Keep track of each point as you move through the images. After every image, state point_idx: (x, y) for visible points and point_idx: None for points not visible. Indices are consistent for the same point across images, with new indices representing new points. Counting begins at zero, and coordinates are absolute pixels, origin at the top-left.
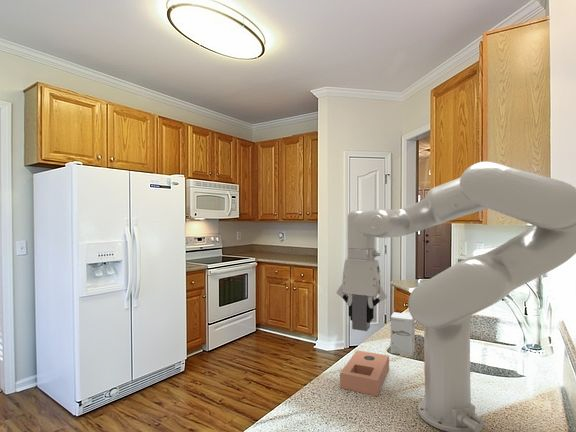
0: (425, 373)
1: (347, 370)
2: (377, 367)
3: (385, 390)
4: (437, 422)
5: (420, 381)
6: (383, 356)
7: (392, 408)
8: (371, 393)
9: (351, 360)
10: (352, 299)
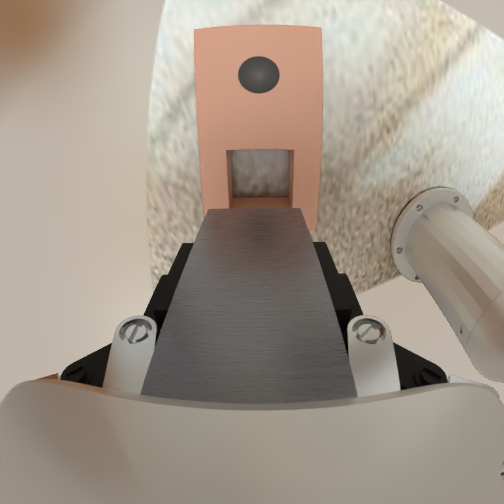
0: (438, 297)
1: (219, 206)
2: (303, 141)
3: (324, 175)
4: (414, 278)
5: (402, 92)
6: (304, 41)
7: (344, 247)
8: None
9: (204, 125)
10: None
